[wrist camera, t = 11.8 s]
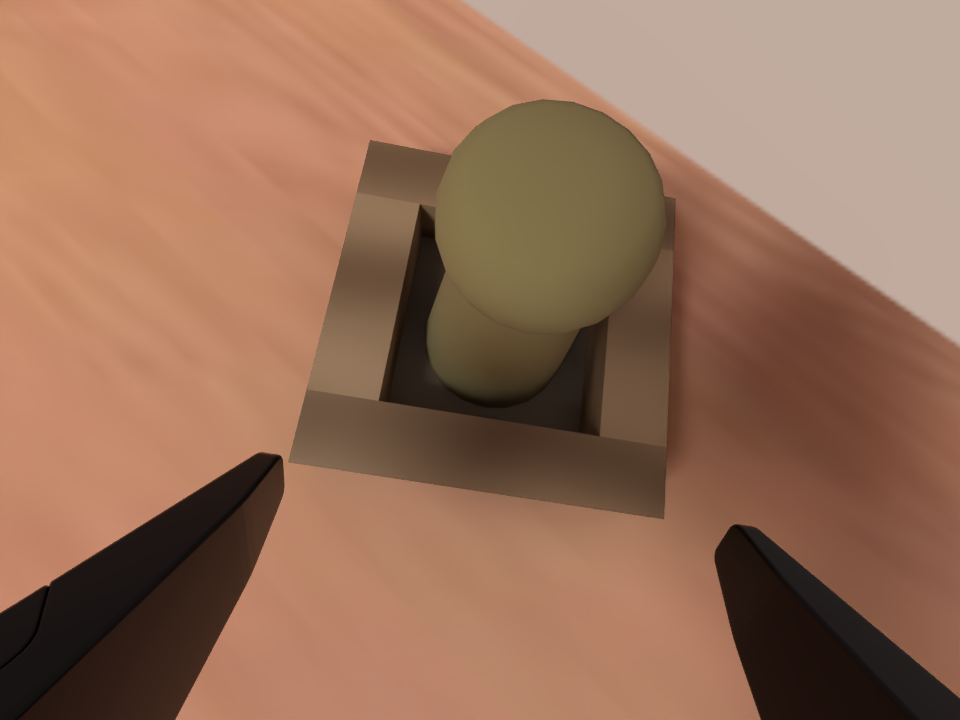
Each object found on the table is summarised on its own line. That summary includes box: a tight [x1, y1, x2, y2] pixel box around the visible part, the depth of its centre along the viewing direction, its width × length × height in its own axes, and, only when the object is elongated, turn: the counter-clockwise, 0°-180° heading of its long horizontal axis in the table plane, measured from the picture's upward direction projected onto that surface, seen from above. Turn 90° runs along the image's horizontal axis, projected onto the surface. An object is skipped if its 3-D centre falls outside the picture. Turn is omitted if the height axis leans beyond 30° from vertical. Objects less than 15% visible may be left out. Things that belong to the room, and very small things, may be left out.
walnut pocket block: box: [288, 140, 676, 519], centre depth 19 cm, size 13×13×4 cm
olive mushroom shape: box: [425, 99, 667, 408], centre depth 14 cm, size 6×6×11 cm
